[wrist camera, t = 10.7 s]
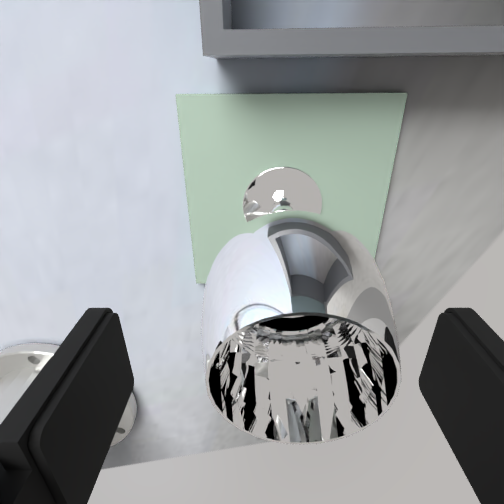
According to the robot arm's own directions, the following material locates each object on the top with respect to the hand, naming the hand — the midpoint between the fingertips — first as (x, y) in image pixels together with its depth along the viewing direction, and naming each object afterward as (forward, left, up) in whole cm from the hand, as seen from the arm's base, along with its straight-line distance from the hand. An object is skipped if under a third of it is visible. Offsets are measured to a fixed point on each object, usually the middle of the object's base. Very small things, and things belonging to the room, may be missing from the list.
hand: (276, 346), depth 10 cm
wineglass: (+1, -1, -10) cm, 10 cm away
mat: (+1, -1, -11) cm, 11 cm away
